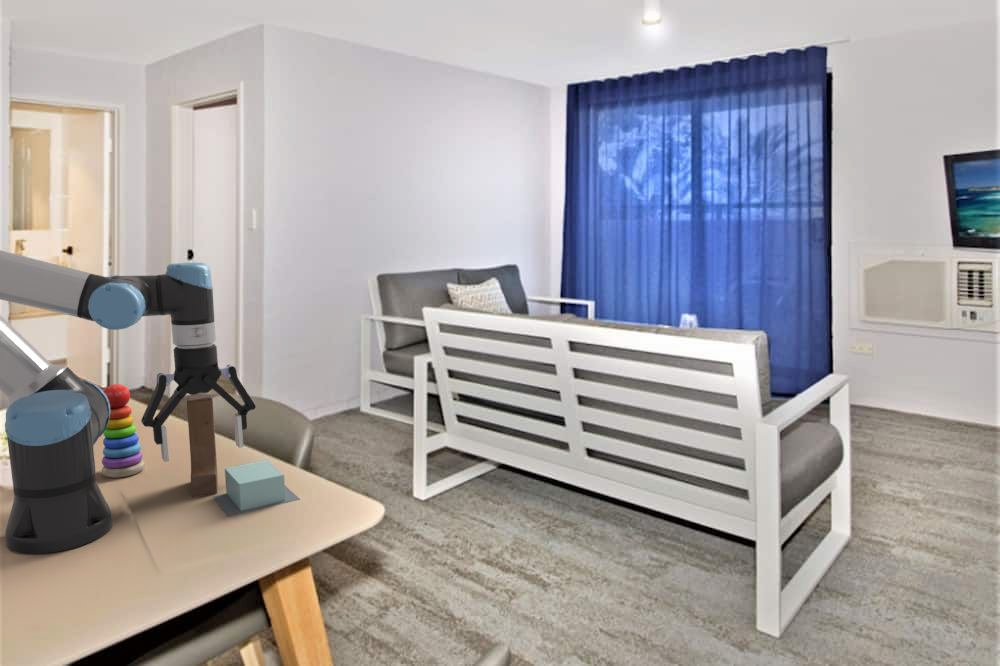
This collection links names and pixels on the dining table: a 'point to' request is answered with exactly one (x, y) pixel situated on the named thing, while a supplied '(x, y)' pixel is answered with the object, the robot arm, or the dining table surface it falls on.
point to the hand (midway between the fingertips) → (203, 452)
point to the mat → (233, 509)
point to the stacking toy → (120, 436)
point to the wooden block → (202, 445)
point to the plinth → (254, 484)
